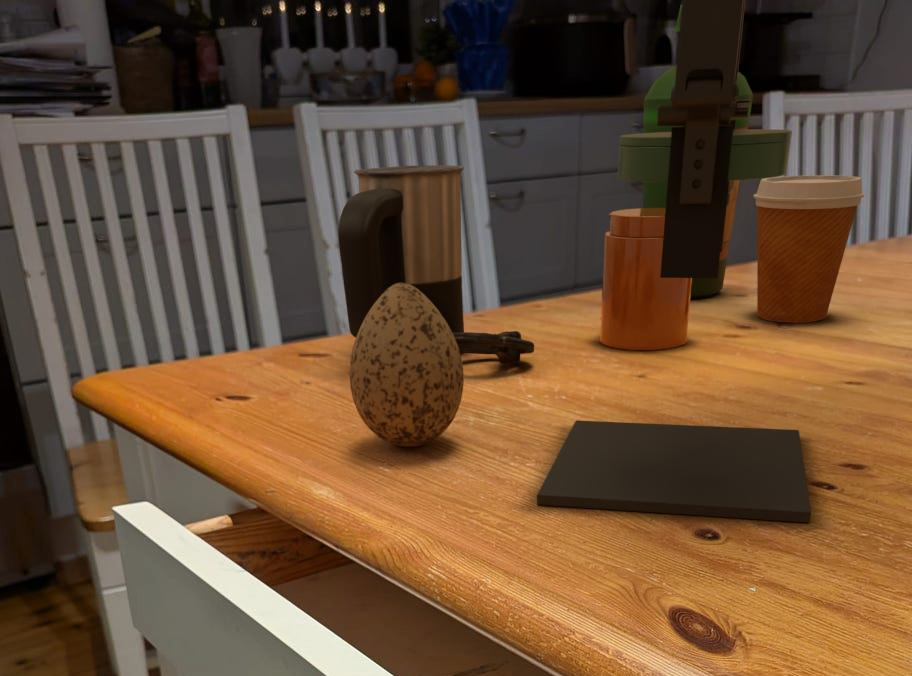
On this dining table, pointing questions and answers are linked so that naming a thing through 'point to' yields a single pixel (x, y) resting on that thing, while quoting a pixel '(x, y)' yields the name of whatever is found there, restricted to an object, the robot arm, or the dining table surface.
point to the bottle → (658, 190)
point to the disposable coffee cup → (802, 243)
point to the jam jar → (641, 286)
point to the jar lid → (748, 160)
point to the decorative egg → (406, 369)
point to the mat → (681, 471)
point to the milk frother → (412, 249)
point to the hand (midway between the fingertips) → (693, 262)
